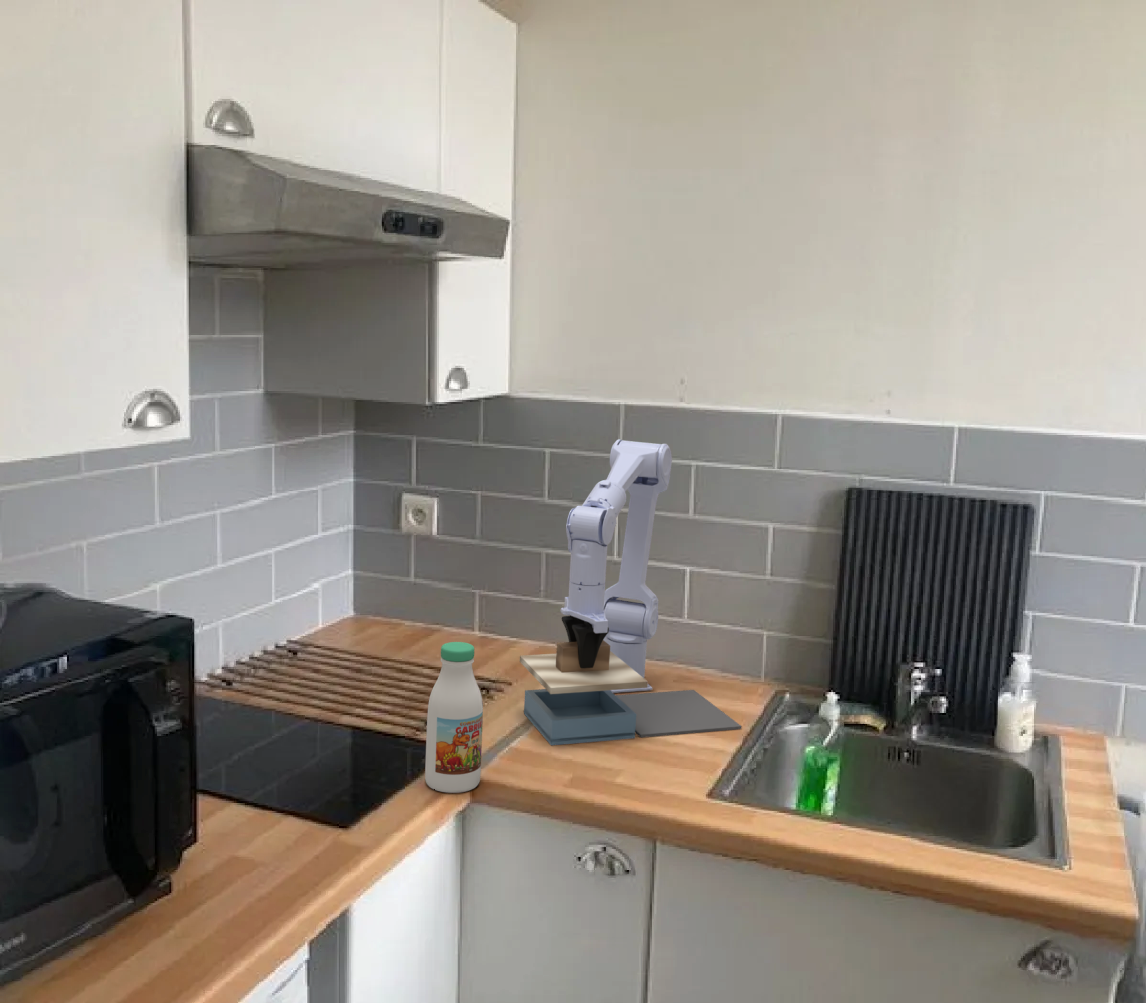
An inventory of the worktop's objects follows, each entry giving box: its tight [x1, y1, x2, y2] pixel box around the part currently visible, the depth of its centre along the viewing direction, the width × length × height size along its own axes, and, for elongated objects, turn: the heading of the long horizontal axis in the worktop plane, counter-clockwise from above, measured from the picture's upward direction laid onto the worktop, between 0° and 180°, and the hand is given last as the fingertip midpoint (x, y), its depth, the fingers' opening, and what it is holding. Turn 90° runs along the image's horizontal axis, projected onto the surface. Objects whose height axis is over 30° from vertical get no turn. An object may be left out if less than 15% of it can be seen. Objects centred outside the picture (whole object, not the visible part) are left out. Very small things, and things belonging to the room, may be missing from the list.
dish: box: [523, 688, 636, 746], centre depth 183 cm, size 14×14×4 cm
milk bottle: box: [424, 641, 484, 794], centre depth 157 cm, size 8×8×20 cm
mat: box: [615, 689, 742, 739], centre depth 191 cm, size 18×18×1 cm
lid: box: [519, 640, 649, 694], centre depth 181 cm, size 16×16×5 cm
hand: (582, 663), depth 181 cm, fingers closed on lid, 3 cm apart
